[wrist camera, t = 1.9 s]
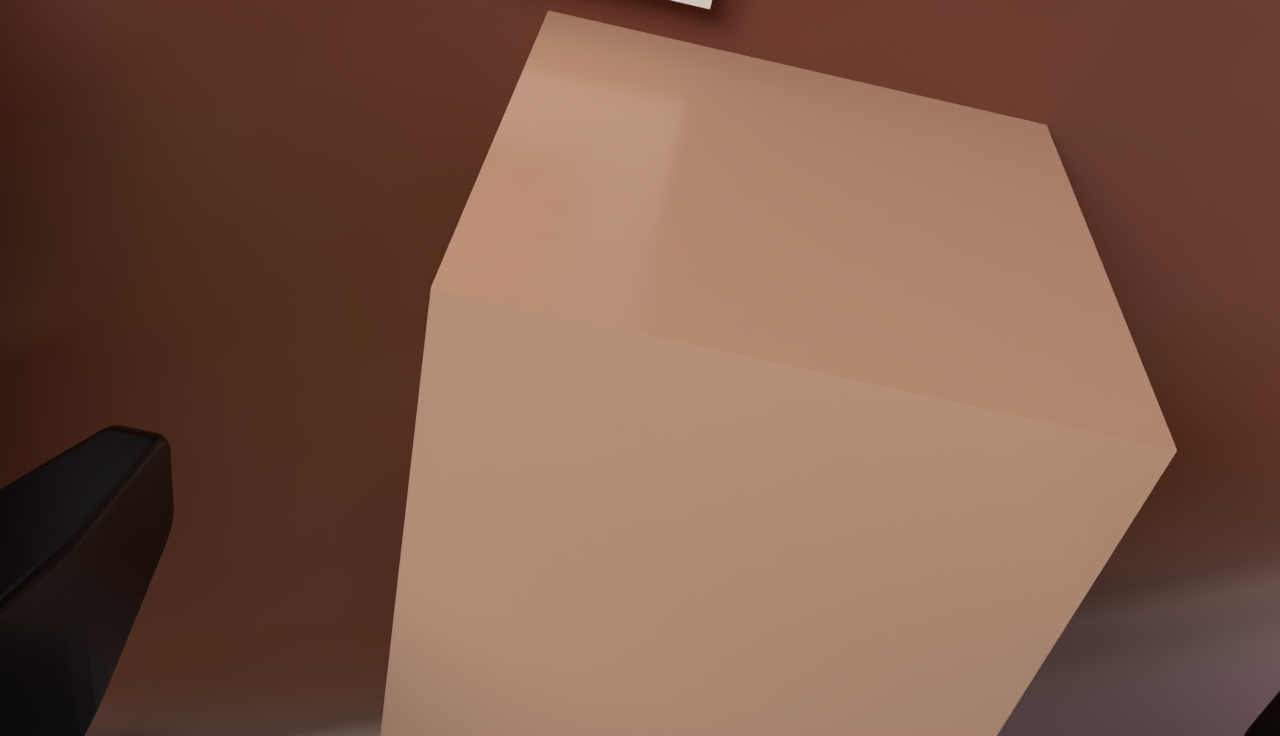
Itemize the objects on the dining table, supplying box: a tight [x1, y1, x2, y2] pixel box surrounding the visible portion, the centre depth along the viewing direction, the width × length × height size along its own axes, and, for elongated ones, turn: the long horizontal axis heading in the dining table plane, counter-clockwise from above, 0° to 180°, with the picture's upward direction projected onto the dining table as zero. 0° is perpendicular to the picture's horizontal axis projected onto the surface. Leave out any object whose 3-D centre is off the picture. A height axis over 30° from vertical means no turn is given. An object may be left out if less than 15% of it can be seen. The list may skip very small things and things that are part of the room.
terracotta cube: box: [380, 10, 1177, 736], centre depth 11 cm, size 5×5×5 cm
